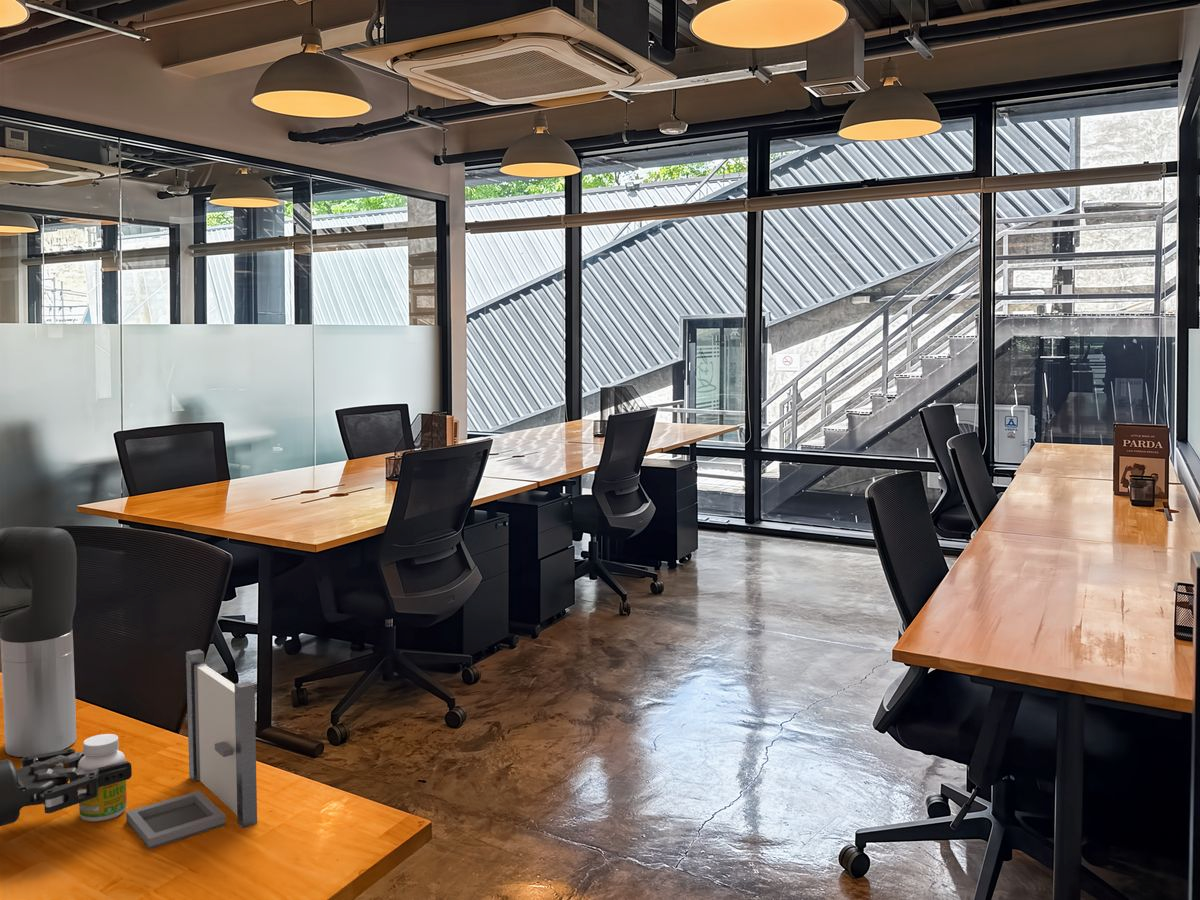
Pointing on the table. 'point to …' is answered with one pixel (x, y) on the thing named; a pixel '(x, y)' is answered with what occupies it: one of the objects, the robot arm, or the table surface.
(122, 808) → the supplement bottle
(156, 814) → the shallow tray
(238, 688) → the door frame
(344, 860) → the table surface
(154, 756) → the table surface
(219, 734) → the door
